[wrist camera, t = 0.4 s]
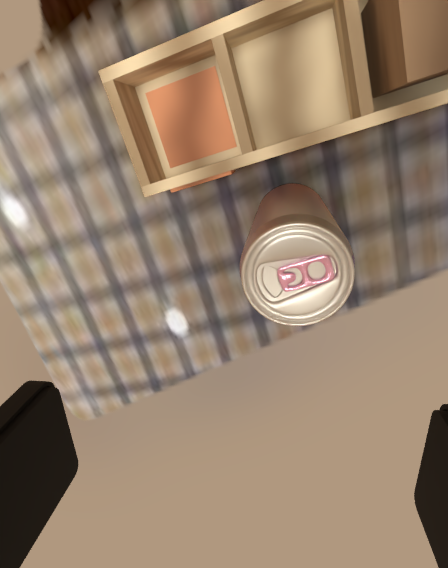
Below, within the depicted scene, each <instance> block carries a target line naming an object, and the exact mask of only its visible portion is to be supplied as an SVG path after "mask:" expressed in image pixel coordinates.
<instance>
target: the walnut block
mask: <svg viewBox="0 0 448 568" xmlns="http://www.w3.org/2000/svg"><path fill="white" fill-rule="evenodd" d="M361 19H362V26H363V33H364V40H365V47H366V54H367V61H368V69H369V76H370V83H371V90H372V97H373V98H376V97H379V96H382V95H385V94H388V93H391V92H394V91H397V90H400V89H403V88H406V87H409V86H413V85H416V84H419V83H422V82H425V81H428V80H431V79H434V78H437V77H440V76H443V75H446V74H448V0H369V1H368V2H367V4H366V6H365V7H364V9H363V10H362V12H361Z"/></svg>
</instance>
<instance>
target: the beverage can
mask: <svg viewBox="0 0 448 568" xmlns="http://www.w3.org/2000/svg"><path fill="white" fill-rule="evenodd" d="M354 269H355V262H354V255H353V251H352V248H351V246H350V244H349V242H348V240H347V239H346V237H345V235H344V234H343V232H342V231H341V229H340V227H339V226H338V224H337V223H336V221H335V220H334V218H333V216H332V215H331V213H330V212H329V210H328V209H327V207H326V205H325V204H324V202H323V201H322V199H321V198H320V196H319V195H318V194H317V193H316V192H315V191H314V190H312V189H311V188H309V187H307V186H305V185H301V184H294V183H291V184H284V185H281V186H278V187H276V188H274V189H273V190H271V191H270V192H269V193H268V194H267V195H266V196H265V197H264V198H263V200H262V201H261V203H260V205H259V208H258V211H257V213H256V216H255V219H254V222H253V224H252V227H251V230H250V233H249V235H248V238H247V241H246V243H245V246H244V249H243V252H242V255H241V260H240V276H241V281H242V286H243V290H244V292H245V295H246V297H247V299H248V300H249V302H250V303H251V305H252V306H253V307H254V308H255V309H256V310H257V311H258V312H259V313H260V314H261V315H263V316H264V317H266V318H268V319H269V320H271V321H274V322H276V323H279V324H283V325H289V326H305V325H311V324H314V323H317V322H320V321H322V320H324V319H326V318H328V317H330V316H331V315H333V314H334V313H335V312H336V311H338V310H339V309H340V308H341V306H342V305H343V304H344V303H345V301H346V300H347V298H348V296H349V295H350V292H351V290H352V287H353V283H354Z"/></svg>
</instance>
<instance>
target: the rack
mask: <svg viewBox="0 0 448 568" xmlns="http://www.w3.org/2000/svg"><path fill="white" fill-rule="evenodd" d="M368 1H369V0H264V1H261V2H259V3H257V4H254V5H252V6H250V7H247V8H245V9H243V10H240V11H238V12H236V13H233V14H231V15H229V16H226V17H224V18H222V19H219V20H217V21H214V22H212V23H210V24H207V25H205V26H203V27H200V28H198V29H196V30H193V31H191V32H189V33H186V34H184V35H182V36H179V37H177V38H175V39H172V40H170V41H168V42H165V43H163V44H161V45H158V46H156V47H154V48H151V49H149V50H147V51H144V52H142V53H140V54H137V55H135V56H133V57H130V58H128V59H126V60H123V61H121V62H118V63H116V64H114V65H111V66H109V67H107V68H104V69H102V70H100V71H99V74H100V77H101V80H102V82H103V85H104V88H105V90H106V93H107V96H108V99H109V101H110V104H111V107H112V109H113V112H114V115H115V118H116V120H117V123H118V126H119V128H120V131H121V134H122V137H123V139H124V142H125V145H126V147H127V150H128V153H129V155H130V158H131V161H132V164H133V166H134V169H135V172H136V174H137V177H138V180H139V183H140V185H141V188H142V191H143V193H144V196H145V197H147V196H150V195H153V194H156V193H160V192H163V191H166V190H169V189H170V190H171V193H172V192H175V191H179V190H182V189H185V188H188V187H192V186H195V185H198V184H201V183H205V182H208V181H211V180H214V179H218V178H221V177H224V176H227V175H231V174H233V173H234V172H236V171H235V169H237V168H240V167H243V166H247V165H250V164H253V163H256V162H260V161H263V160H266V159H269V158H273V157H276V156H279V155H282V154H285V153H289V152H292V151H295V150H298V149H302V148H305V147H308V146H311V145H314V144H318V143H321V142H324V141H327V140H331V139H334V138H337V137H340V136H343V135H347V134H350V133H353V132H356V131H360V130H363V129H366V128H369V127H372V126H376V125H379V124H382V123H385V122H389V121H392V120H395V119H398V118H401V117H405V116H408V115H411V114H414V113H418V112H421V111H424V110H427V109H431V108H434V107H437V106H440V105H443V104H447V103H448V74H446V75H443V76H440V77H437V78H434V79H431V80H428V81H425V82H422V83H419V84H416V85H413V86H409V87H406V88H403V89H400V90H397V91H394V92H391V93H388V94H385V95H382V96H379V97H376V98H373V97H372V90H371V83H370V76H369V69H368V61H367V54H366V47H365V40H364V33H363V26H362V19H361V12H362V10H363V9H364V7H365V6H366V4H367V2H368Z"/></svg>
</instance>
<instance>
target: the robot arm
mask: <svg viewBox="0 0 448 568" xmlns="http://www.w3.org/2000/svg"><path fill="white" fill-rule="evenodd" d="M77 469H78V458H77V455H76V451H75V447H74V444H73V440H72V437H71V433H70V429H69V425H68V422H67V418H66V414H65V410H64V407H63V403H62V399H61V395H60V392H59V390H58V389H57V388H55V387H54V384H53V383H52V382H46V381H28V382H26V383H24V384H23V385H22V386H21V387H20V388H19V389H18V390H17V391H16V392H15V393H14V394H13V395H12V396H11V397H10V398H9V399H8V400H6V401H5V402H4V403H3V404H2V405H1V406H0V568H19V567H20V566H21V564H22V563H23V561H24V559H25V558H26V556H27V555H28V553H29V551H30V550H31V548H32V546H33V545H34V543H35V541H36V539H37V538H38V536H39V535H40V533H41V531H42V530H43V528H44V526H45V525H46V523H47V521H48V520H49V518H50V516H51V515H52V513H53V512H54V510H55V508H56V506H57V505H58V503H59V501H60V500H61V498H62V497H63V495H64V493H65V491H66V490H67V488H68V487H69V485H70V483H71V482H72V480H73V478H74V477H75V475H76V472H77ZM414 494H415V495H414V497H415V504H416V508H417V511H418V514H419V517H420V519H421V522H422V524H423V527H424V530H425V532H426V535H427V538H428V540H429V543H430V546H431V548H432V551H433V553H434V556H435V559H436V561H437V564H438V567H439V568H448V404H443V405H442V406H441V407H440V410H434V411H433V413H432V416H431V420H430V425H429V429H428V434H427V438H426V443H425V447H424V452H423V456H422V460H421V465H420V469H419V474H418V479H417V483H416V487H415V493H414Z"/></svg>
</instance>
